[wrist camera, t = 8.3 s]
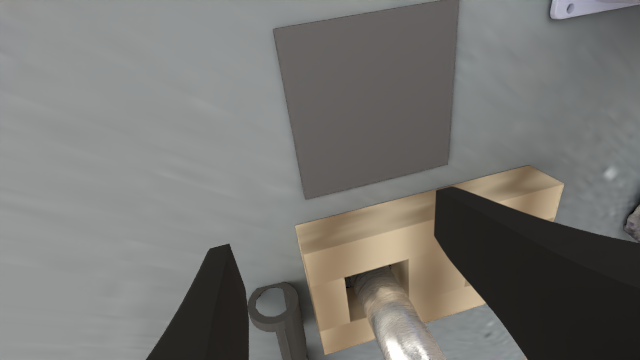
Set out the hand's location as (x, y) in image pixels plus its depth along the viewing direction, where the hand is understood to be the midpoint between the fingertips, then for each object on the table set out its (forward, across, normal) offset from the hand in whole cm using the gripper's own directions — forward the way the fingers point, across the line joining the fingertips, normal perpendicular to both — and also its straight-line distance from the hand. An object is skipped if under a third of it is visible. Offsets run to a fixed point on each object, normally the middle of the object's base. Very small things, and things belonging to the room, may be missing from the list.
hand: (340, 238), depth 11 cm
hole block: (+9, -8, +11) cm, 17 cm away
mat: (+9, -5, -1) cm, 11 cm away
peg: (+9, -4, +11) cm, 15 cm away
